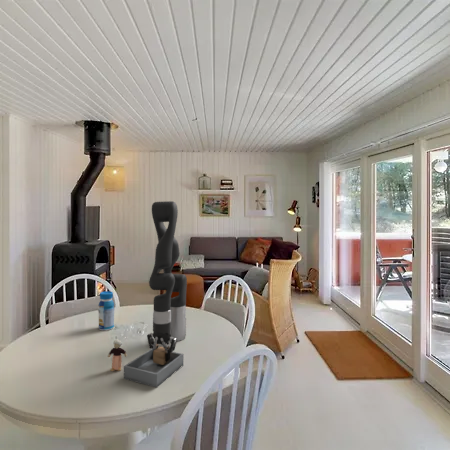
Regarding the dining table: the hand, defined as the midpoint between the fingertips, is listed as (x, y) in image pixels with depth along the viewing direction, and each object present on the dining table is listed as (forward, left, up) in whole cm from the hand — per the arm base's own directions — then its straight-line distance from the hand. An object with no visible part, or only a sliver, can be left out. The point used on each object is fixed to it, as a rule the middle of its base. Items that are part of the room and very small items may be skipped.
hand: (161, 359), depth 143 cm
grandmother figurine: (+10, -15, -3) cm, 18 cm away
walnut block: (0, 0, -1) cm, 1 cm away
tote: (+5, 0, -3) cm, 6 cm away
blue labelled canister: (-25, -53, -3) cm, 59 cm away
